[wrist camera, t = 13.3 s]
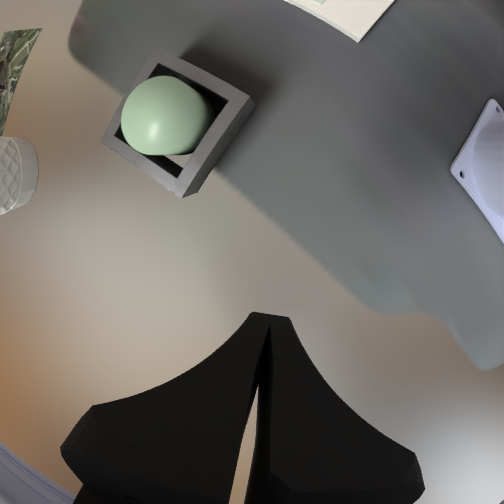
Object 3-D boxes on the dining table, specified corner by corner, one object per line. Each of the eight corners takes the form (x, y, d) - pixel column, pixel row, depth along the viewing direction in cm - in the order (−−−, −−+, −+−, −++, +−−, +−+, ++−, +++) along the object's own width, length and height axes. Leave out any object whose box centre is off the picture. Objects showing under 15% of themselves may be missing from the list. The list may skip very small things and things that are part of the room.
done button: (228, 110, 16) (212, 97, 12) (190, 167, 18) (165, 170, 14) (175, 80, 16) (149, 64, 12) (141, 135, 17) (108, 131, 13)
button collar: (256, 106, 16) (249, 96, 13) (197, 192, 18) (181, 198, 16) (174, 61, 16) (156, 47, 13) (124, 142, 18) (100, 141, 15)
